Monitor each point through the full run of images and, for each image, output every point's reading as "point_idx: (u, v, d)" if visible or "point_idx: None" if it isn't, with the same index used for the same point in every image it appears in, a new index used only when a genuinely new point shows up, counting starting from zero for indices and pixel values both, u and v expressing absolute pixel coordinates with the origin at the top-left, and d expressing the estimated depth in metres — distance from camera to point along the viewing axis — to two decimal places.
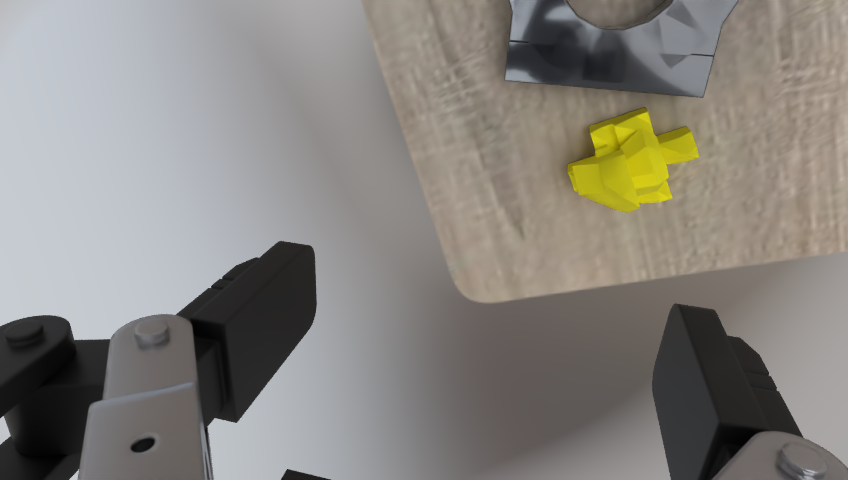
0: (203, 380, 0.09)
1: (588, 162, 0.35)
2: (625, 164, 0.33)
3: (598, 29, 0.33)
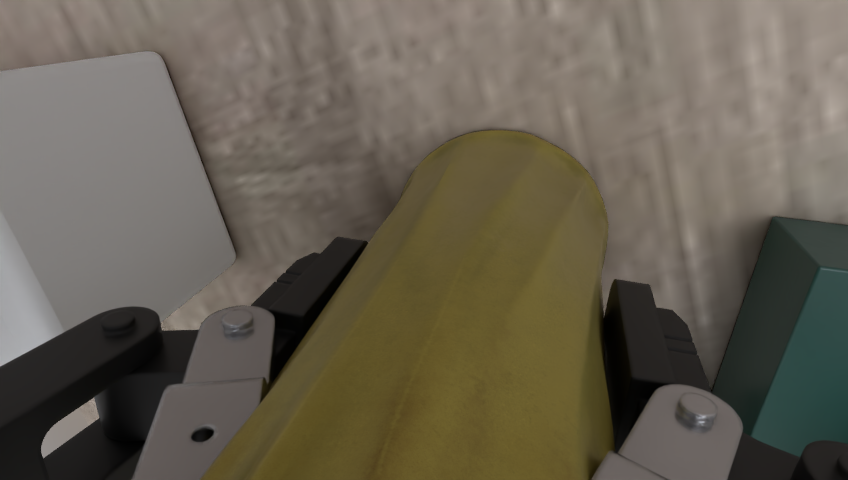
0: None
1: None
2: None
3: None
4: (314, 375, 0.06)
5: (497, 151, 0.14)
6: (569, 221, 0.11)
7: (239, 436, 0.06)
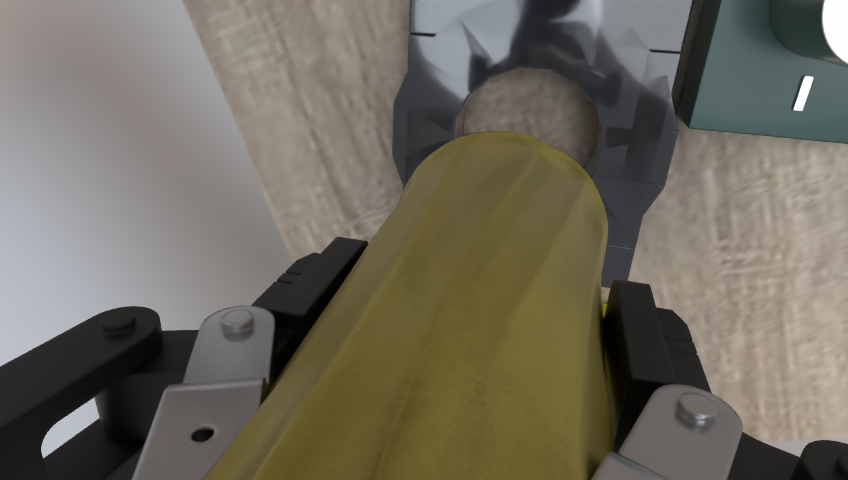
0: None
1: None
2: None
3: None
4: (314, 377, 0.06)
5: (497, 152, 0.14)
6: (569, 222, 0.11)
7: (239, 439, 0.06)
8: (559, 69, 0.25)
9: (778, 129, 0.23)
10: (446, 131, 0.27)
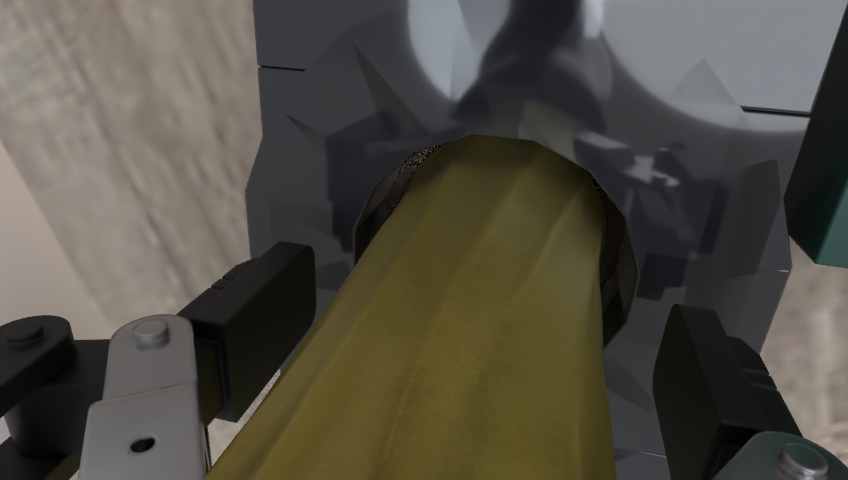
0: (203, 380, 0.09)
1: None
2: None
3: None
4: (322, 366, 0.07)
5: (497, 151, 0.14)
6: (568, 219, 0.11)
7: (250, 425, 0.06)
8: (550, 141, 0.12)
9: None
10: (342, 244, 0.15)
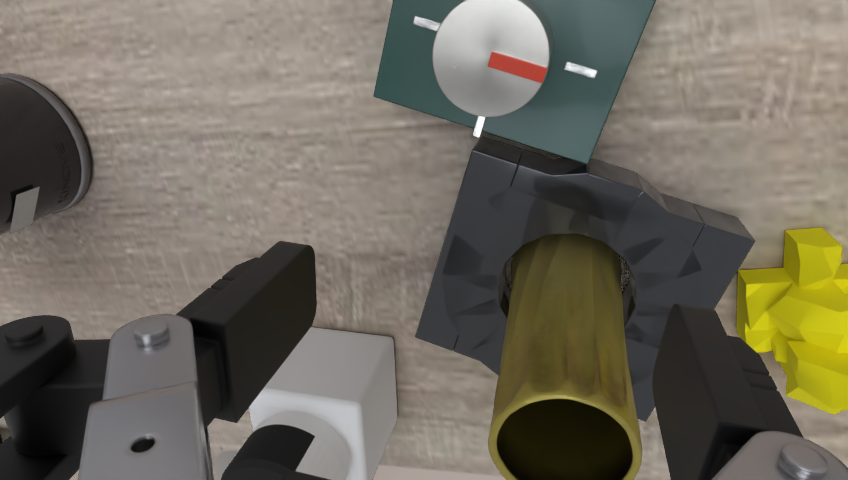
0: (203, 380, 0.09)
1: (789, 382, 0.27)
2: (814, 367, 0.25)
3: (625, 328, 0.29)
4: None
5: (516, 267, 0.31)
6: (532, 265, 0.27)
7: None
8: (507, 256, 0.29)
9: (611, 89, 0.24)
10: None
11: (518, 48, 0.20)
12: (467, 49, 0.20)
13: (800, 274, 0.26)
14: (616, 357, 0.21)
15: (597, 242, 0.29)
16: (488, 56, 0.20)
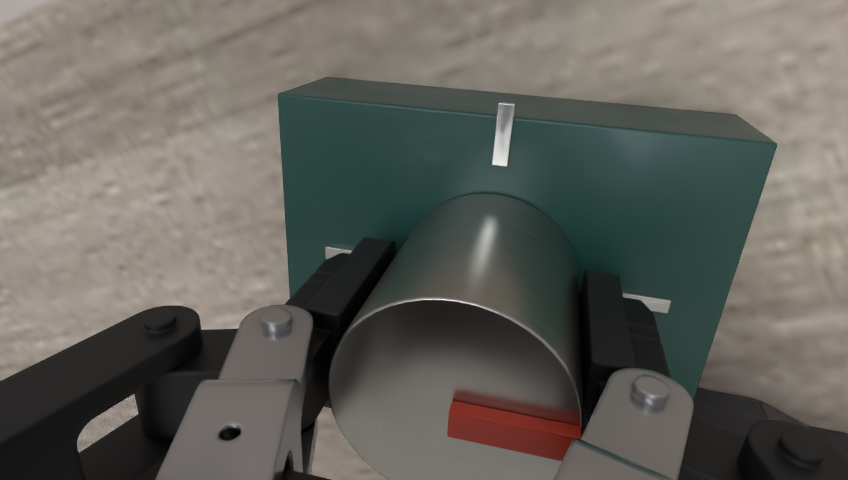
0: (320, 367, 0.10)
1: None
2: None
3: None
4: None
5: None
6: None
7: None
8: None
9: (702, 325, 0.13)
10: None
11: (507, 394, 0.09)
12: (397, 398, 0.09)
13: None
14: None
15: None
16: (445, 408, 0.09)
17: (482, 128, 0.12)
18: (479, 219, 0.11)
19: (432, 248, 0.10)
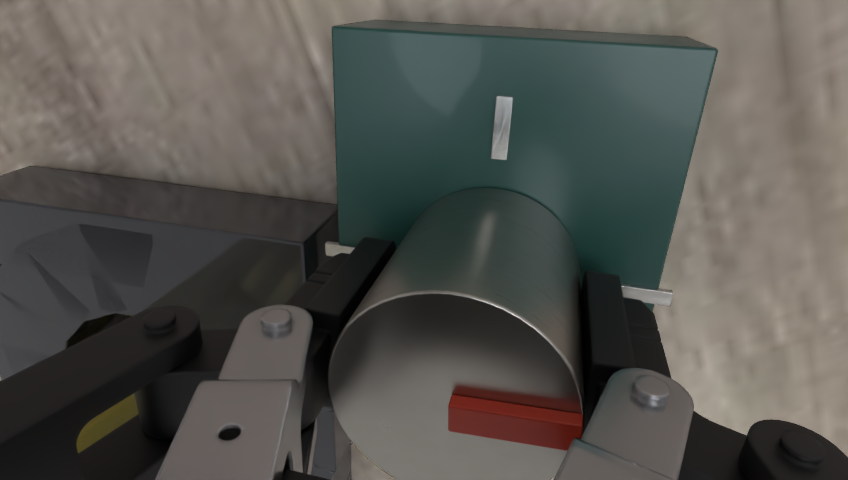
0: (319, 368, 0.10)
1: None
2: None
3: None
4: None
5: None
6: None
7: None
8: None
9: None
10: None
11: (505, 386, 0.09)
12: (397, 395, 0.09)
13: None
14: None
15: None
16: (446, 403, 0.09)
17: (647, 274, 0.13)
18: (473, 212, 0.11)
19: (426, 244, 0.10)
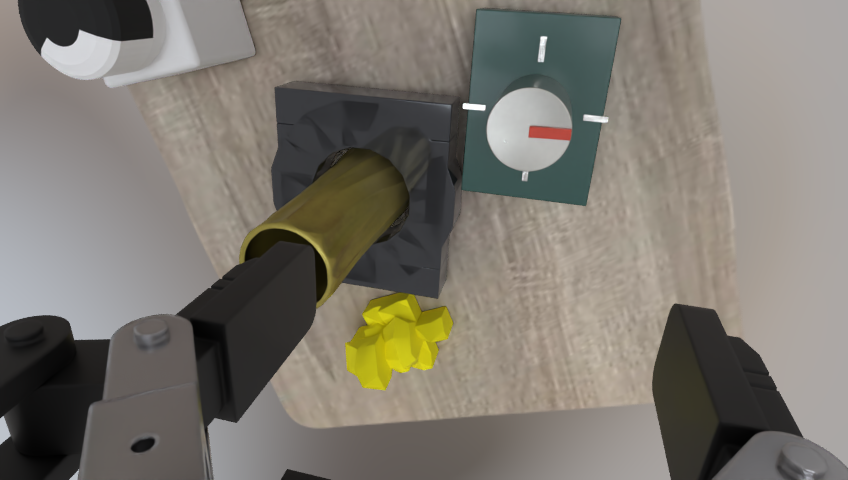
0: (203, 380, 0.09)
1: (355, 343, 0.42)
2: (374, 353, 0.40)
3: None
4: (294, 199, 0.31)
5: (365, 152, 0.38)
6: (377, 174, 0.35)
7: (279, 209, 0.30)
8: (375, 149, 0.36)
9: (516, 192, 0.35)
10: None
11: (547, 120, 0.28)
12: (511, 128, 0.28)
13: (423, 325, 0.42)
14: (350, 268, 0.31)
15: (403, 204, 0.39)
16: (527, 129, 0.28)
17: (598, 110, 0.32)
18: (533, 78, 0.30)
19: (518, 84, 0.29)
